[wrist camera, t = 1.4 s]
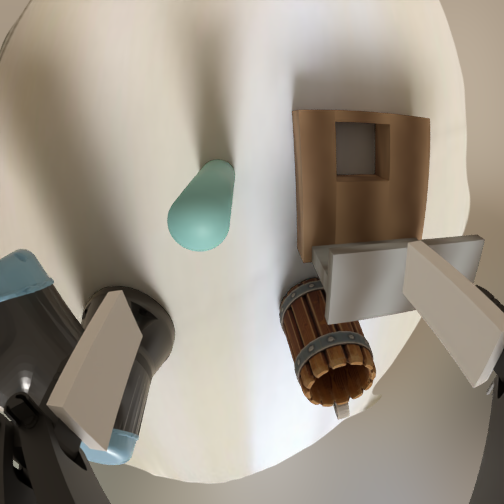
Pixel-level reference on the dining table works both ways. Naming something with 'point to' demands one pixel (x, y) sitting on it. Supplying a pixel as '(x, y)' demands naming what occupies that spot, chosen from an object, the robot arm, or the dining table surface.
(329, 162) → the socket block
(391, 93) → the dining table surface
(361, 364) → the mug
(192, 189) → the peg
